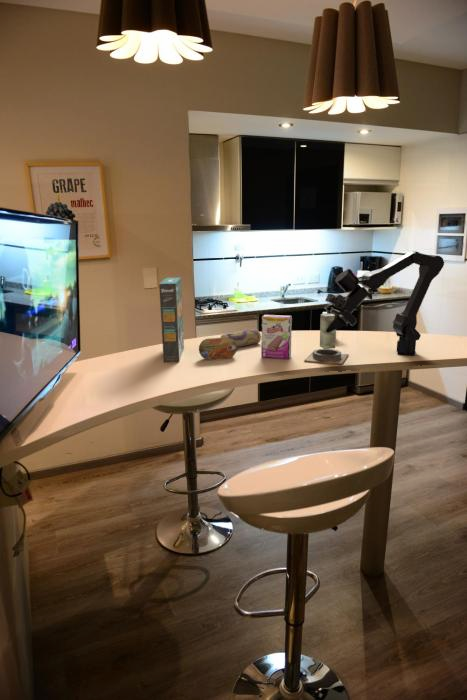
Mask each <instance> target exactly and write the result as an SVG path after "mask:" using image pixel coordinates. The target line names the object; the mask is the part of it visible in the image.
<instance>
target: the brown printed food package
mask: <svg viewBox="0 0 467 700" xmlns="http://www.w3.org/2000/svg"><path fill="white" fill-rule="evenodd" d="M237 351H238V347H237V344H236V342H235V340H233V339H232V338H229V337H221V336H220V337H211V338H205V339H203V340H202V341H201V342H200V343H199V346H198V352H199V354H200V356H201V357H202V359H204V360H206V361H215V360H224V359H226V360H227V359H230V358H232V357H233V358H234V356H235V354H236V353H237Z"/></svg>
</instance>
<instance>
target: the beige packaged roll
mask: <svg viewBox="0 0 467 700" xmlns="http://www.w3.org/2000/svg"><path fill="white" fill-rule="evenodd" d="M220 337H229V338H232V339H233V340H235V342H236V344H237V348H241V347H246V346H248V345H254V344H255V345H256V344H259V343H260V342H261V341H262V334H261V332H260V331H259V330H258V328H251V329H250V328H249V329H244V330H239V331H234V332H231V333H225V334H221V336H220Z"/></svg>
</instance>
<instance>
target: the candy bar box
mask: <svg viewBox="0 0 467 700" xmlns="http://www.w3.org/2000/svg"><path fill="white" fill-rule="evenodd" d="M292 323H293V317H292V315H282V314H281V315H280V314H279V315H278V314H277V315H276V314H263V315H262V316H261V347H260V348H261V352H260V353H261V355H260V356H261V358H266V359H267V358H268V359H270V358H271V359H281V360H282V359H283V360H289V359H290V358H291V357H292V328H293V327H292V326H293V325H292Z"/></svg>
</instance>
